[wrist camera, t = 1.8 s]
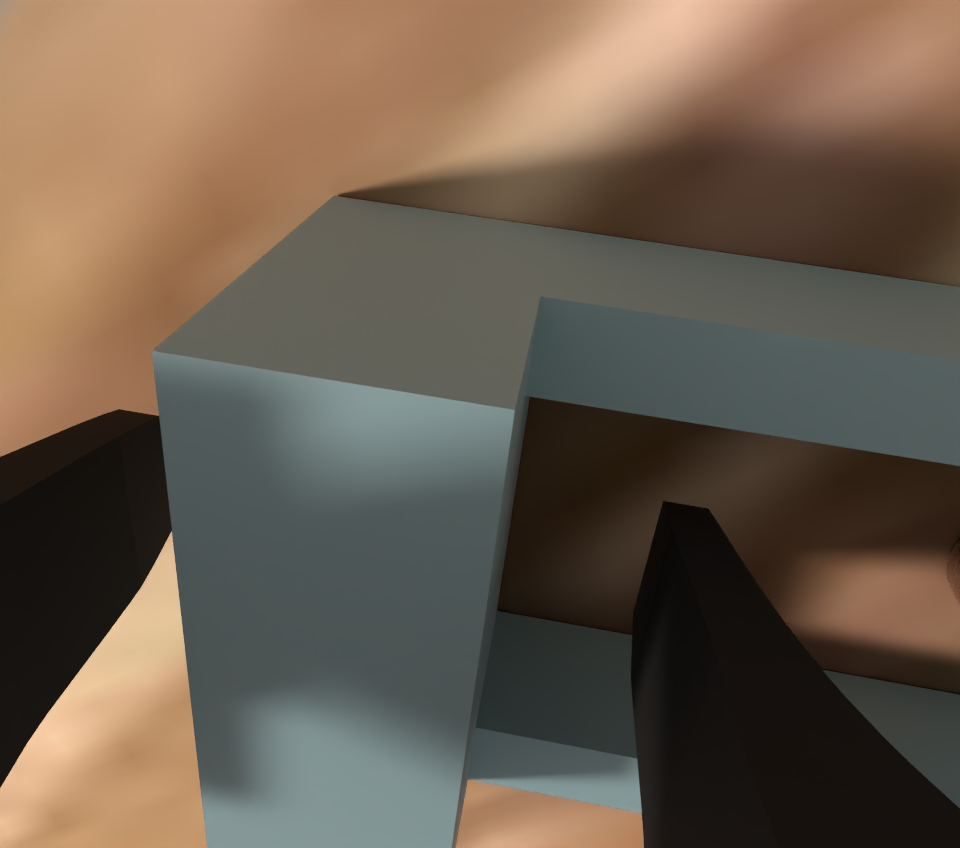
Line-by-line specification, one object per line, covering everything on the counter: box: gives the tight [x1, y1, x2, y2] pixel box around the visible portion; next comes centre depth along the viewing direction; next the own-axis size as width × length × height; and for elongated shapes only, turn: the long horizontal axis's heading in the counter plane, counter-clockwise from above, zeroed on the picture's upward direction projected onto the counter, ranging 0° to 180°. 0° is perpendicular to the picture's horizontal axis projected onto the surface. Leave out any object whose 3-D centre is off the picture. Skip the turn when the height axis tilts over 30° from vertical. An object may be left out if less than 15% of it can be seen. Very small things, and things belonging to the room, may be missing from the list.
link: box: [152, 196, 960, 848], centre depth 10 cm, size 13×8×5 cm, turn 84°
